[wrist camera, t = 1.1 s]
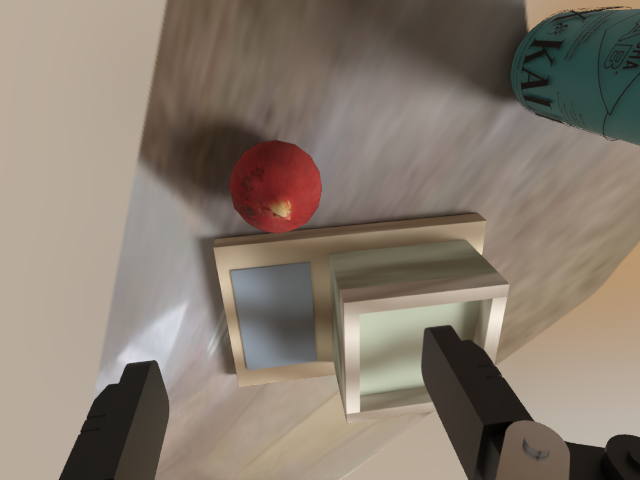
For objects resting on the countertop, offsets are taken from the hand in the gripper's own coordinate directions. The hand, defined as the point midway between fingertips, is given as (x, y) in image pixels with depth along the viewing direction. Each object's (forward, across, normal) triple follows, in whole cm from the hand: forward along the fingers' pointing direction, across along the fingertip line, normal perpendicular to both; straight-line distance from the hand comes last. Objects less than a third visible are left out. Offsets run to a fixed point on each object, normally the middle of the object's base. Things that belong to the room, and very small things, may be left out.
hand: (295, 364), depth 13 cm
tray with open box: (+20, -5, +12) cm, 24 cm away
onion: (+20, 0, 0) cm, 20 cm away
